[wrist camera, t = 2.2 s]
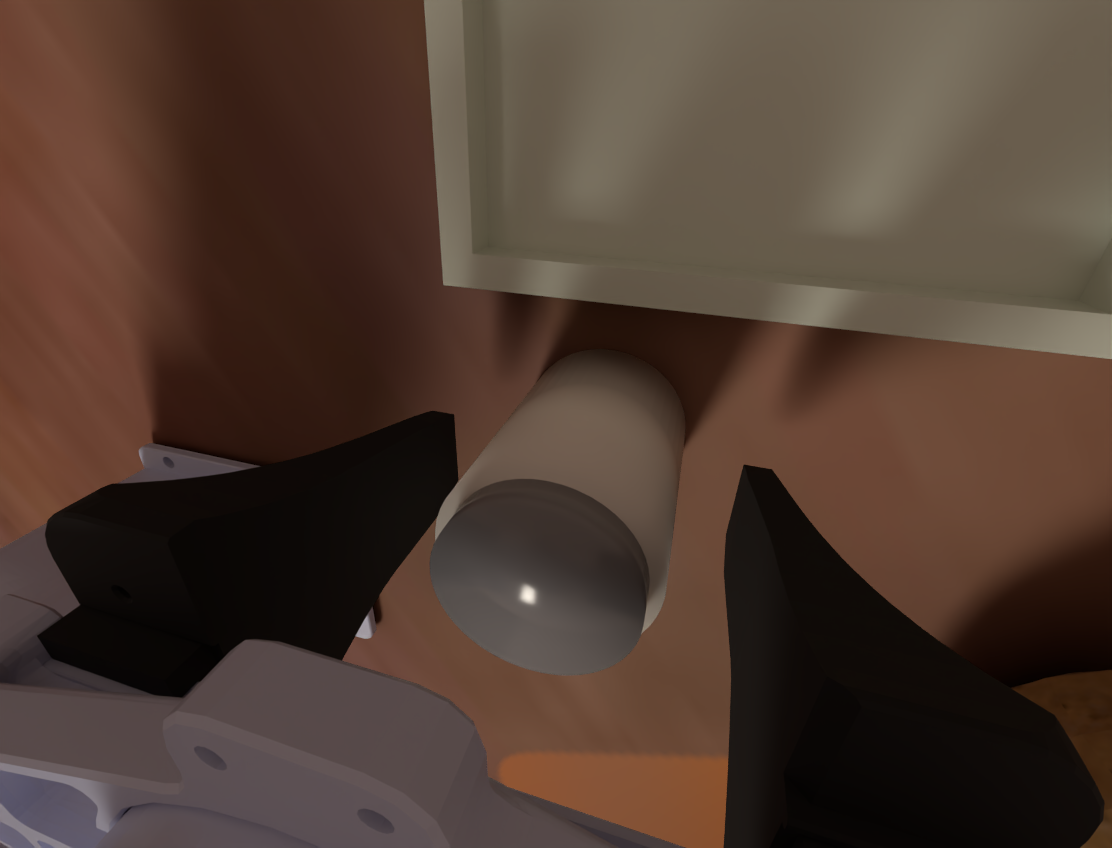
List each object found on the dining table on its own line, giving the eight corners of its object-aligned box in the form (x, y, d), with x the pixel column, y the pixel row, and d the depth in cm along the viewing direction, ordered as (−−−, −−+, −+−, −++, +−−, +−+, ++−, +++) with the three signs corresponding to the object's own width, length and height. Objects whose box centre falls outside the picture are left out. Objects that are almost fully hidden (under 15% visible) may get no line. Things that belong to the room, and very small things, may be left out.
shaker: (528, 475, 17) (426, 650, 11) (530, 339, 14) (402, 467, 9) (672, 503, 16) (644, 712, 10) (698, 361, 13) (682, 523, 8)
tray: (470, 271, 14) (443, 284, 13) (445, -305, 9) (397, -385, 8) (1086, 335, 11) (1139, 362, 9) (1540, -485, 6) (1780, -669, 5)
